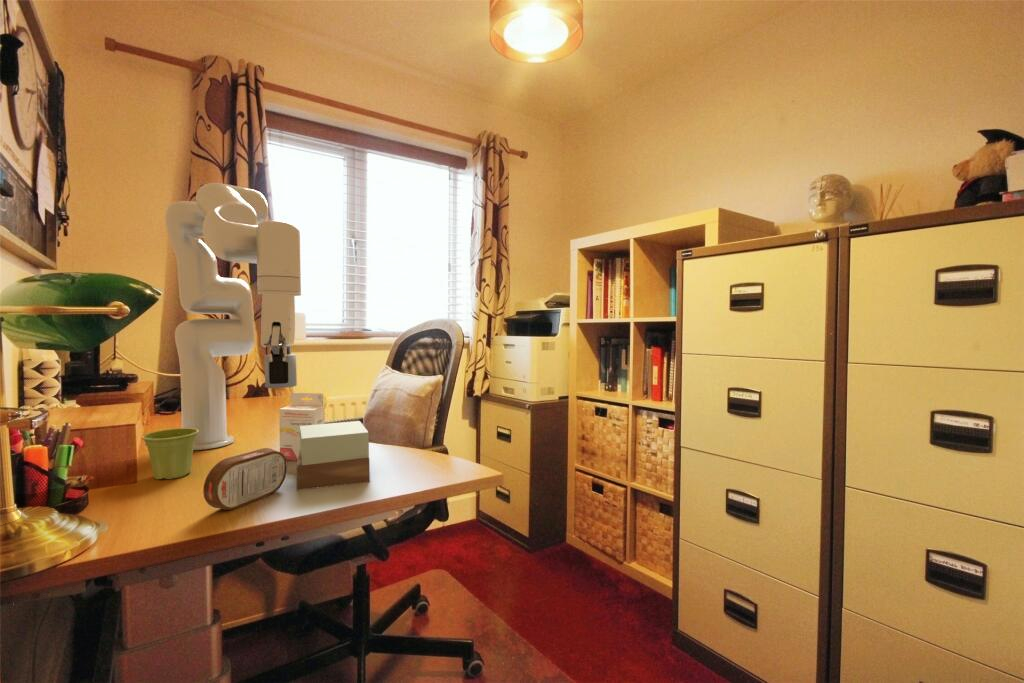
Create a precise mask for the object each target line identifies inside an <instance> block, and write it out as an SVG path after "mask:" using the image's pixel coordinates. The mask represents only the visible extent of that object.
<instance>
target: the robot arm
mask: <svg viewBox="0 0 1024 683" xmlns="http://www.w3.org/2000/svg"><path fill="white" fill-rule="evenodd" d="M195 200H196V201H191V200H178V201H175V202H172V203H170V204H169V205H168V206H167V208H166V212H165V219H164V220H165V229H166V230H165V231H166V233H167V237H168V240H169V241H170V244H171V247H172V249H173V251H174V254H175V255H174V256H175V258H176V264H177V265H176V266H177V267H176V268H177V280H178V281H177V282H178V283H177V284H178V293H179V295H178V296H179V300H180V301H179V302H180V305H181V307H182V309H183V310H184V311H185V312H187V313H189V314H195V315H196V314H198V315H199V314H201V315H228V316H229V319H228V318H227V319H226V318H225V319H224V318H223V319H222V318H220V319H219V318H194V319H187V320H184V321H183V322H180V323H179V324H178V325H177V326H176V328H175V331H174V341H175V346H176V350H177V355H178V362H179V371H180V372H179V373H180V374H179V375H180V376H179V377H180V399H181V400H180V403H181V404H180V405H181V408H180V409H181V428H194V429H198V430H199V432H198V433H197V435H196V439H195V441H194V447H193V451H200V450H203V451H204V450H210V449H217V448H221V447H224V446H228V445H230V444H232V443H233V442H234V441H235V439H234V438H235V437H234V436H233V435H231V434H227V431H228V430H227V429H228V428H227V393H226V392H227V390H226V389H227V388H226V386H227V385H226V384H227V383H226V382H227V381H226V374H225V370H224V369H223V368H222V367H221V365H220V364H219V363H218V362H217V361H216V360H215V359H214V358H216V357H217V358H218V357H231V356H232V357H233V356H235V357H236V356H243V355H244V356H245V355H248V354H250V353H252V352H253V349H254V348H255V344H256V343H255V342H256V332H255V330H256V329H255V317H254V303H253V296H252V290H251V288H250V285H249V284H248V283H247V282H246V281H244V280H243V279H240V278H235V277H221V276H220V275H219V272H218V271H219V270H218V260H217V258H219V259H220V260H223V261H226V262H234V263H245V264H256V271H257V272H256V275H257V276H256V277H257V278H256V282H257V286H256V287H257V295H258V296H262V298H261V299H262V301H261V316H260V318H261V320H260V321H261V322H260V325H261V326H260V327H261V328H260V345H261V346H262V347H263V348H268V347H269V355H270V358H269V360H270V362H269V383H270V384H285V383H288V362H286V356H287V354H292V349H291V348H292V347H291V346H292V345H293V344H295V333H296V308H295V307H296V306H295V304H296V303H295V297H300V296H302V292H301V291H302V284H301V279H302V278H301V235H300V234H301V233H300V229H299V227H298V226H297V225H296V224H294V223H292V222H288V221H283V220H267V218H268V213H269V206H268V202H267V199H266V198H265V196H264V195H263V193H261V192H260V191H258V190H256V189H252V188H247V187H244V186H243V187H242V186H238V185H232V184H227V183H221V182H208V183H205V184H204V185H201V186H200V187H199V188H198V189H197V192H196V195H195ZM201 239H204V242H203V240H201ZM216 257H217V258H216Z"/></svg>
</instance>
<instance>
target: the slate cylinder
mask: <svg viewBox="0 0 1024 683" xmlns="http://www.w3.org/2000/svg"><path fill="white" fill-rule="evenodd" d="M269 358H270V354H265V355H264V386H265V388H267V389H280V388H281V389H284V388H293V387H296V386H298V383H297V381H298V380H297V376H298V375H297V354H293V353H291V354H287V356H286V362H288V383H285V384H270V383H269V362H270V360H269Z"/></svg>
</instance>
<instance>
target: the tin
mask: <svg viewBox="0 0 1024 683" xmlns="http://www.w3.org/2000/svg"><path fill="white" fill-rule="evenodd" d="M287 461H288V460H286V458H285V456H284V455H283V454H282V453H281V452H280V450H279V451H278V450H275V449H272V448H268V447H265V448H260V449H256V450H253V451H248V452H245V453H241V454H238V455H234V456H233V455H232V456H229V457H226V458H224V459H222V460H220V461H218V462H217V463H216V464H215V465H214V466H212V468H211V469H210V471H209V472H208V474H207V475H206V476H205V480H204V484H203V490H202V491H203V492H202V493H203V498H204V500H205V502H206V503H207V505H209V506H210V507H212V508H215V509H220V510H224V511H231V510H235V509H237V508H240V506H241V507H243V506H246V505H248V504H250V503H253V502H255V501H258V499H259V500H261V499H263V498H266V497H268V496H271V495H273V494H274V493H276V492H277V491H278V490H279V489H281V487H282V485H283V483H284V482H285V479H286V477H287V469H288V462H287Z"/></svg>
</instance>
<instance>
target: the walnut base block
mask: <svg viewBox="0 0 1024 683" xmlns="http://www.w3.org/2000/svg"><path fill="white" fill-rule="evenodd" d="M370 468H371V467H370V457H369V458H361V459H353V460H344V461H335V462H327V463H318V464H310V465H302V459H301V452H299V456H298V461H297V462H296V490H297V491H299V490H300V489H301V490H306V489H307V490H309V489H318V488H317V487H319V488H325V487H326V486H328V487H336V486H335V485H337V486H344V485H345V484H346V485H352V484H354V483H355V484H362V483H363V482H364V483H370V482H371V481H370V479H371V478H370V474H371V472H370ZM364 483H363V484H364ZM355 484H354V485H355Z"/></svg>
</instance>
